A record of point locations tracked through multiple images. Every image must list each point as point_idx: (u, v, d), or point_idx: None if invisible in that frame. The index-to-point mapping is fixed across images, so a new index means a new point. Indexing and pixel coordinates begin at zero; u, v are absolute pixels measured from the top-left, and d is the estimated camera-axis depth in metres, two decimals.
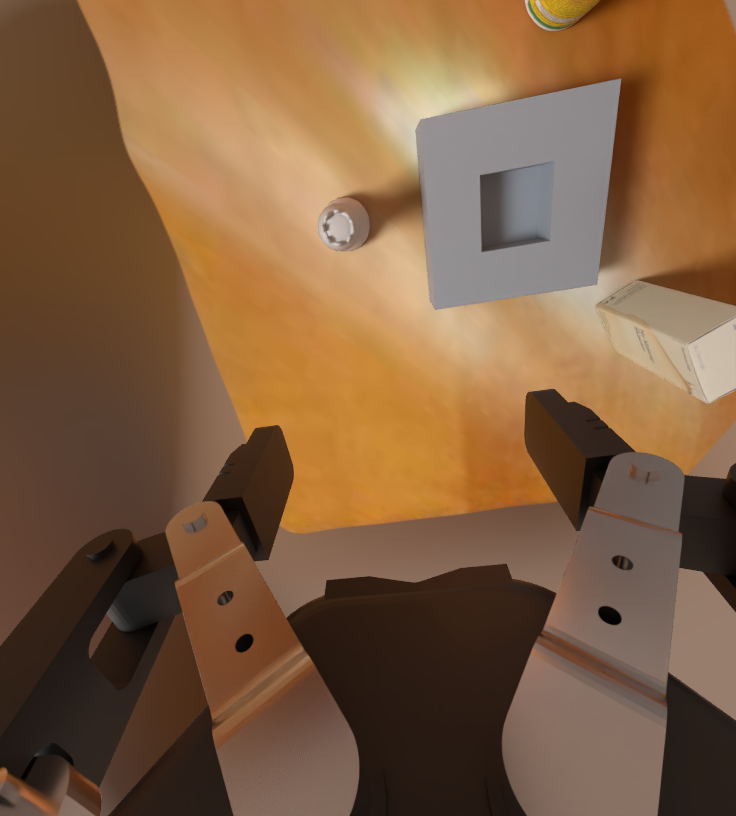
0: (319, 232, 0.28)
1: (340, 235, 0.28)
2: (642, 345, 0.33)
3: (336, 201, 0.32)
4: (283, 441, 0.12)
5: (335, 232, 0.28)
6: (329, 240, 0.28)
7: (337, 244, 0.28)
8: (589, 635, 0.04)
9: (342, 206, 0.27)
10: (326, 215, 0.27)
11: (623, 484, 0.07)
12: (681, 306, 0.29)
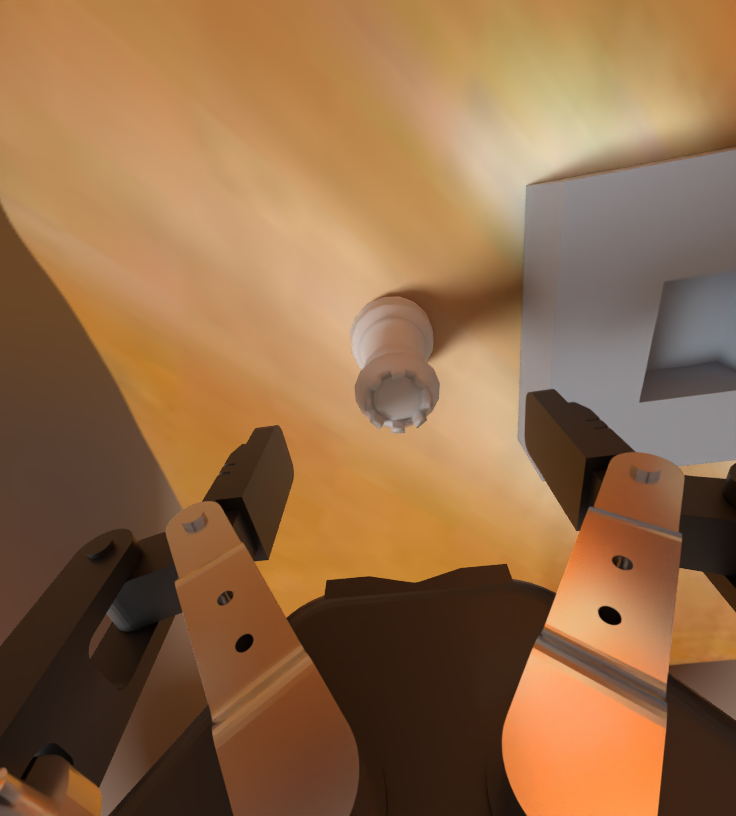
0: (358, 401, 0.14)
1: (401, 412, 0.14)
2: None
3: (380, 309, 0.18)
4: (283, 441, 0.12)
5: (391, 407, 0.14)
6: (379, 423, 0.14)
7: (395, 429, 0.14)
8: (589, 635, 0.04)
9: (407, 359, 0.13)
10: (376, 383, 0.13)
11: (623, 484, 0.07)
12: None
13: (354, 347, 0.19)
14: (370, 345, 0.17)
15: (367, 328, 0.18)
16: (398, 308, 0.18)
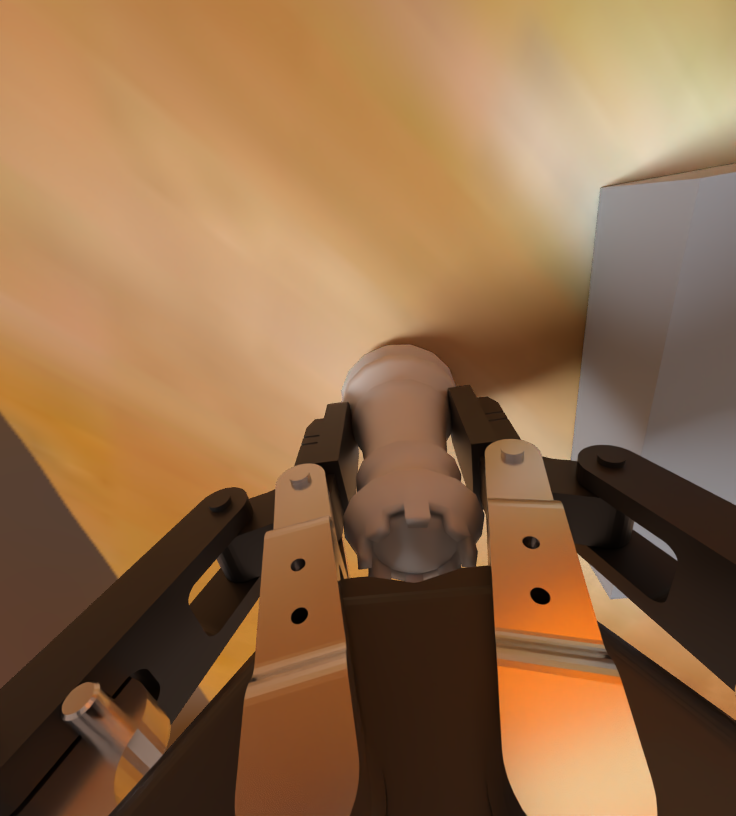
0: (349, 540, 0.09)
1: (420, 565, 0.08)
2: None
3: (383, 367, 0.12)
4: (351, 417, 0.13)
5: (404, 558, 0.08)
6: None
7: None
8: (532, 622, 0.05)
9: (433, 484, 0.08)
10: (379, 532, 0.07)
11: (501, 470, 0.08)
12: None
13: None
14: (368, 427, 0.11)
15: (364, 395, 0.12)
16: (410, 365, 0.12)
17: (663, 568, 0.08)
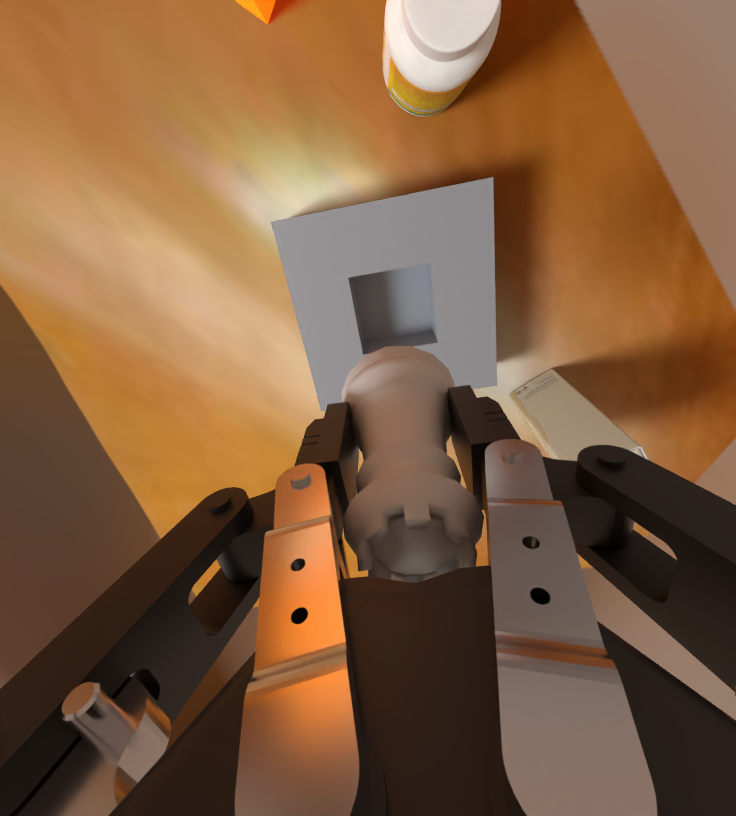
0: (349, 542, 0.09)
1: (420, 566, 0.08)
2: (548, 451, 0.29)
3: (383, 369, 0.12)
4: (351, 417, 0.13)
5: (404, 560, 0.08)
6: None
7: None
8: (532, 622, 0.05)
9: (432, 485, 0.08)
10: (379, 534, 0.07)
11: (501, 470, 0.08)
12: (581, 420, 0.26)
13: None
14: (368, 428, 0.11)
15: (364, 396, 0.12)
16: (409, 367, 0.12)
17: (663, 568, 0.08)
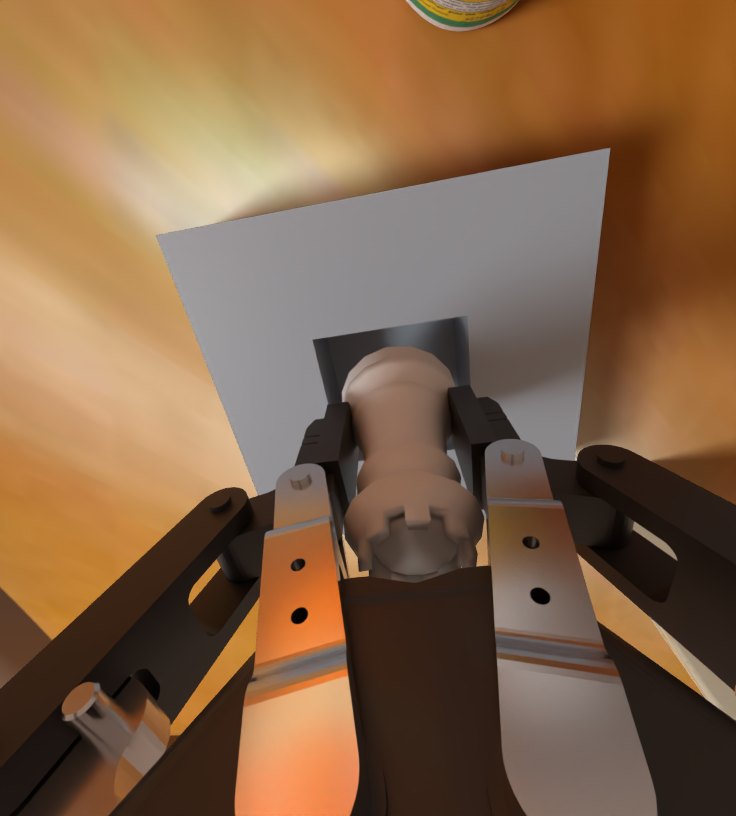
0: (349, 542, 0.09)
1: (420, 567, 0.08)
2: (653, 620, 0.17)
3: (383, 369, 0.12)
4: (351, 417, 0.13)
5: (404, 560, 0.08)
6: None
7: None
8: (532, 622, 0.05)
9: (433, 486, 0.08)
10: (379, 534, 0.07)
11: (501, 470, 0.08)
12: None
13: None
14: (368, 429, 0.11)
15: (365, 397, 0.12)
16: (410, 367, 0.12)
17: (663, 568, 0.08)
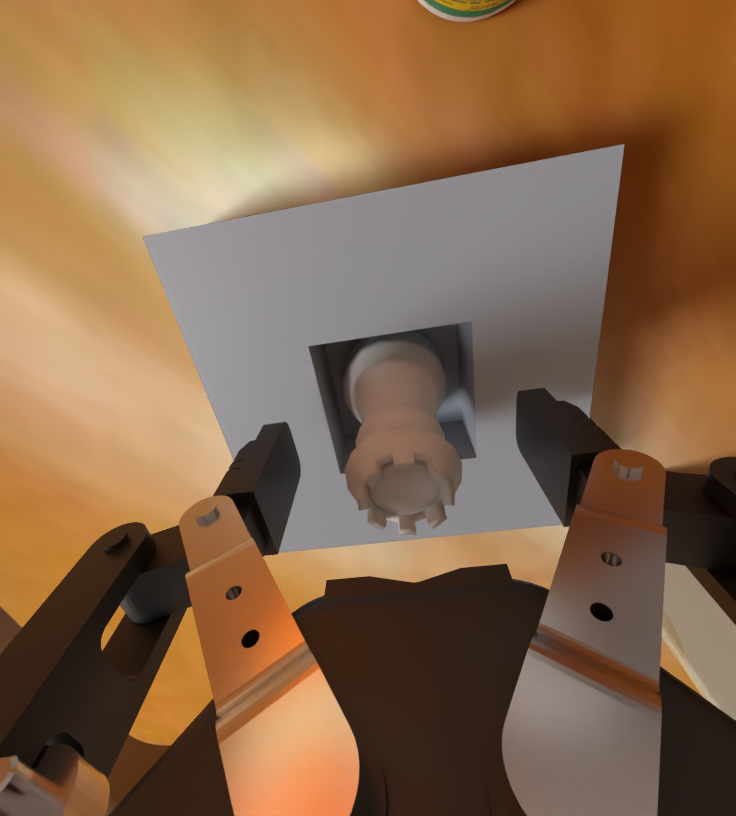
0: (350, 490, 0.10)
1: (410, 507, 0.10)
2: (664, 637, 0.17)
3: (377, 348, 0.14)
4: (291, 437, 0.12)
5: (396, 501, 0.10)
6: (381, 524, 0.10)
7: (403, 531, 0.10)
8: (582, 632, 0.04)
9: (417, 437, 0.09)
10: (373, 477, 0.09)
11: (607, 481, 0.07)
12: None
13: (347, 395, 0.15)
14: (365, 400, 0.13)
15: (362, 373, 0.14)
16: (400, 346, 0.14)
17: None
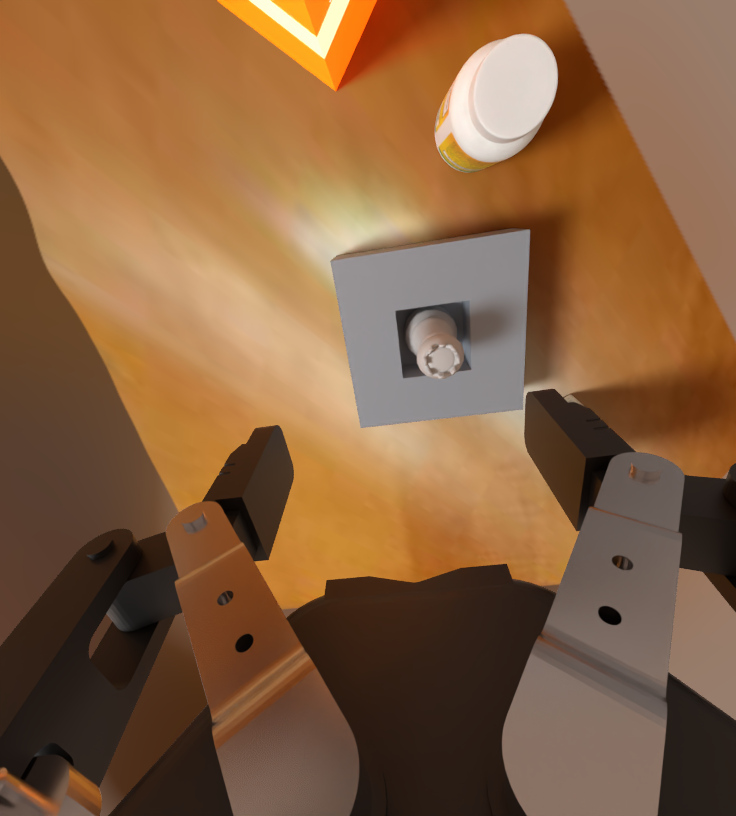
0: (418, 362, 0.26)
1: (443, 367, 0.25)
2: None
3: (424, 313, 0.30)
4: (283, 441, 0.12)
5: (438, 364, 0.25)
6: (431, 373, 0.25)
7: (440, 377, 0.25)
8: (589, 635, 0.04)
9: (446, 337, 0.25)
10: (430, 350, 0.24)
11: (623, 484, 0.07)
12: None
13: (407, 337, 0.30)
14: (420, 334, 0.28)
15: (417, 324, 0.29)
16: (435, 312, 0.29)
17: None
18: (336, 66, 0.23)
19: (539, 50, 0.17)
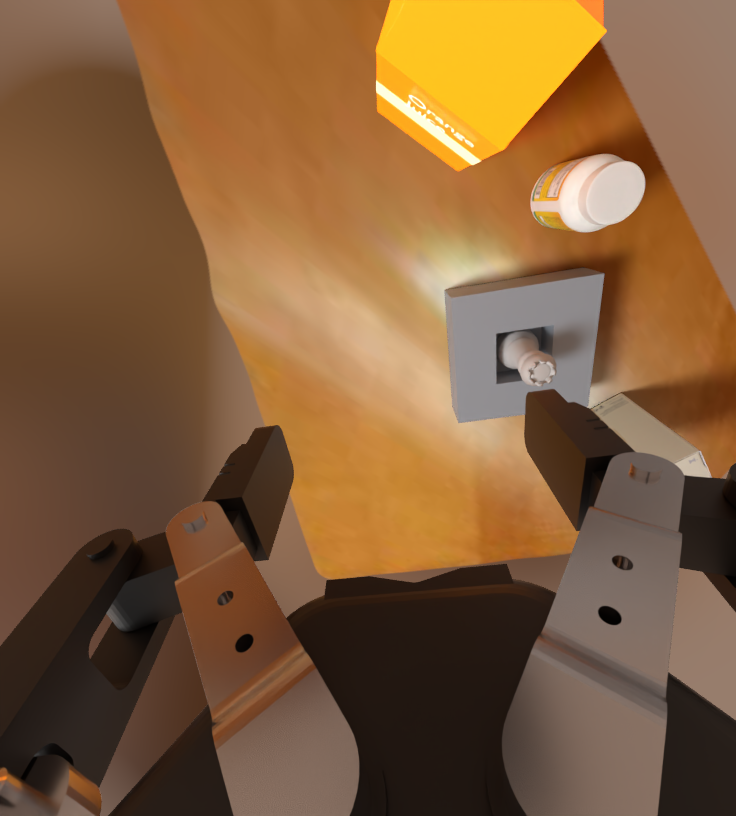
0: (522, 374, 0.35)
1: (541, 377, 0.34)
2: None
3: (515, 334, 0.38)
4: (283, 441, 0.12)
5: (538, 375, 0.34)
6: (533, 382, 0.34)
7: (539, 385, 0.34)
8: (589, 635, 0.04)
9: (545, 356, 0.34)
10: (534, 365, 0.33)
11: (623, 484, 0.07)
12: (652, 432, 0.38)
13: (501, 352, 0.39)
14: (515, 351, 0.37)
15: (510, 343, 0.38)
16: (524, 333, 0.38)
17: None
18: None
19: (634, 171, 0.26)
